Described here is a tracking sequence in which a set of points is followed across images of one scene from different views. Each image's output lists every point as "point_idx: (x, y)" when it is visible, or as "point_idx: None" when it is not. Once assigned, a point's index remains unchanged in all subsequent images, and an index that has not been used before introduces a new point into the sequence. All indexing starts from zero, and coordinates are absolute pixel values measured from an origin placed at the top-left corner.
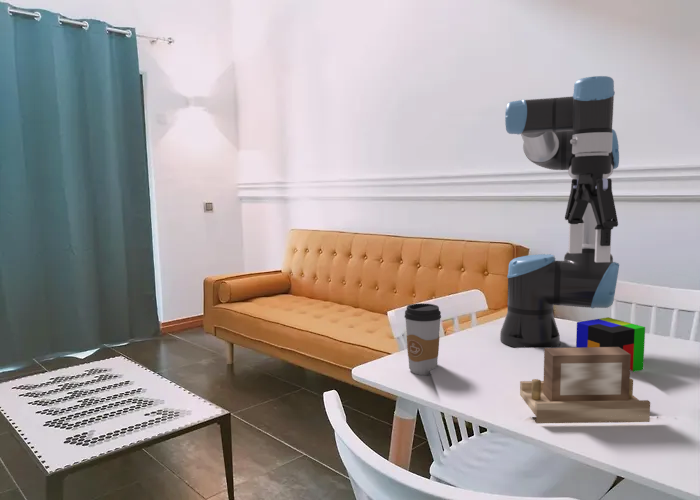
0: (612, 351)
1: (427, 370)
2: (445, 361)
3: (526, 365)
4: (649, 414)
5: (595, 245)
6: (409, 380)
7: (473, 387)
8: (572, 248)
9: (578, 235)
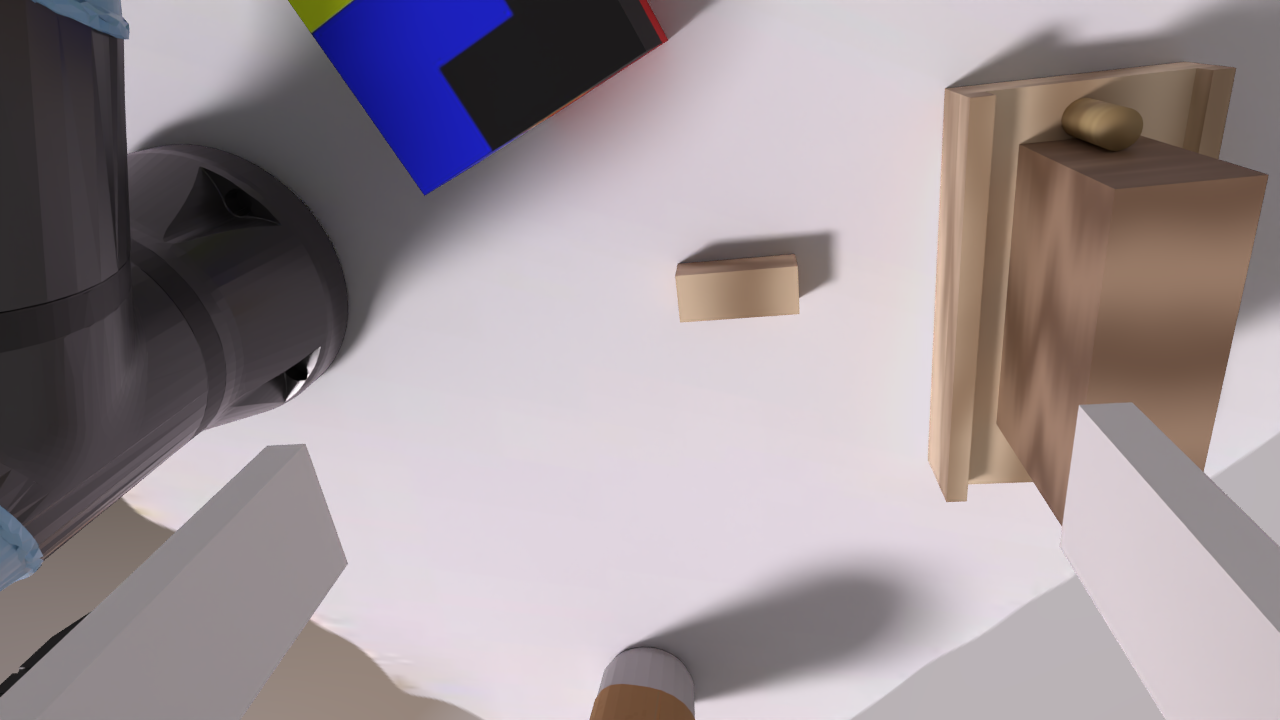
0: (1189, 252)
1: (692, 684)
2: (548, 611)
3: (556, 362)
4: (1202, 64)
5: (1176, 714)
6: (740, 715)
7: (800, 567)
8: (308, 577)
9: (174, 652)
